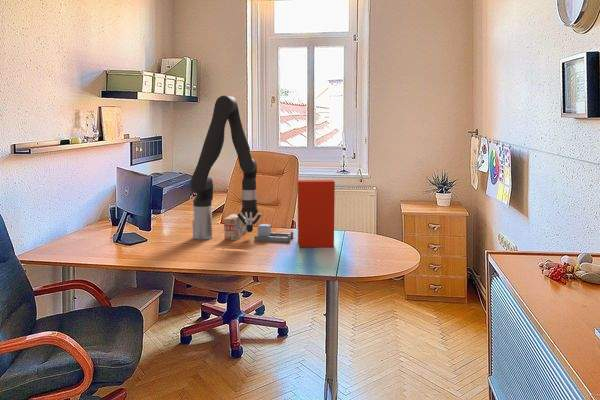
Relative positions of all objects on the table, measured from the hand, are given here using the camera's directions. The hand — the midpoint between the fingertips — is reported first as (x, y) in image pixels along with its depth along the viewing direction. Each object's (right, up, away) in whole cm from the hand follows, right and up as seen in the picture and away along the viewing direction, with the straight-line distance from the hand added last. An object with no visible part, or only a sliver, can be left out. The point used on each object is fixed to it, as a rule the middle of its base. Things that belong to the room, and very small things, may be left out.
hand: (249, 231), depth 248 cm
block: (+7, -4, -1) cm, 8 cm away
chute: (+12, -5, -1) cm, 13 cm away
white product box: (-8, -4, +8) cm, 11 cm away
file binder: (+33, -6, -9) cm, 35 cm away
